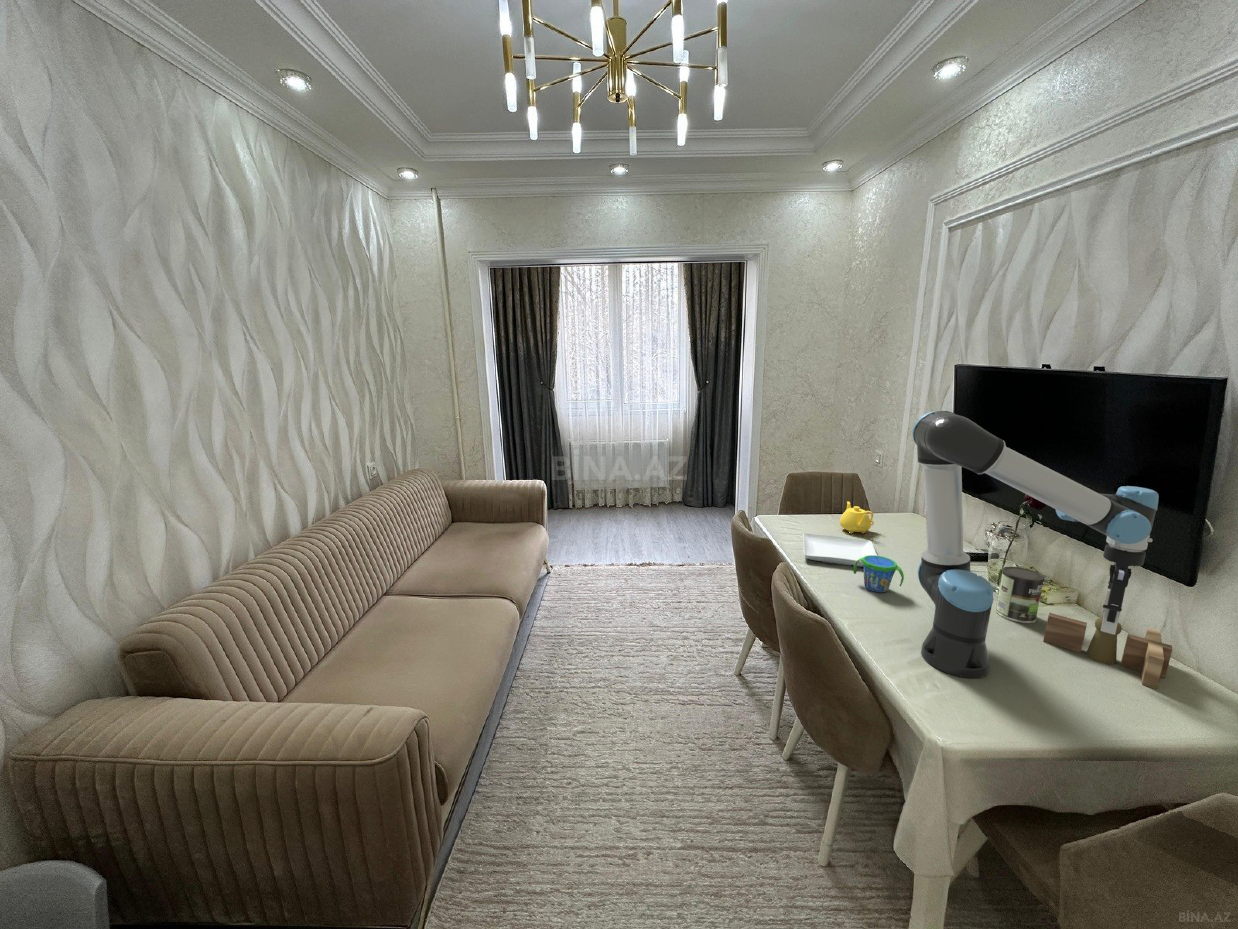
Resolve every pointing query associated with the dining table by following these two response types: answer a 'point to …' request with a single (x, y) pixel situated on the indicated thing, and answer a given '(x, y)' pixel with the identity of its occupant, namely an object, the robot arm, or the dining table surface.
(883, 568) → the snack cup
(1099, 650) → the cork
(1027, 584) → the coffee can
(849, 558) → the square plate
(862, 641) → the dining table surface
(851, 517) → the teapot
